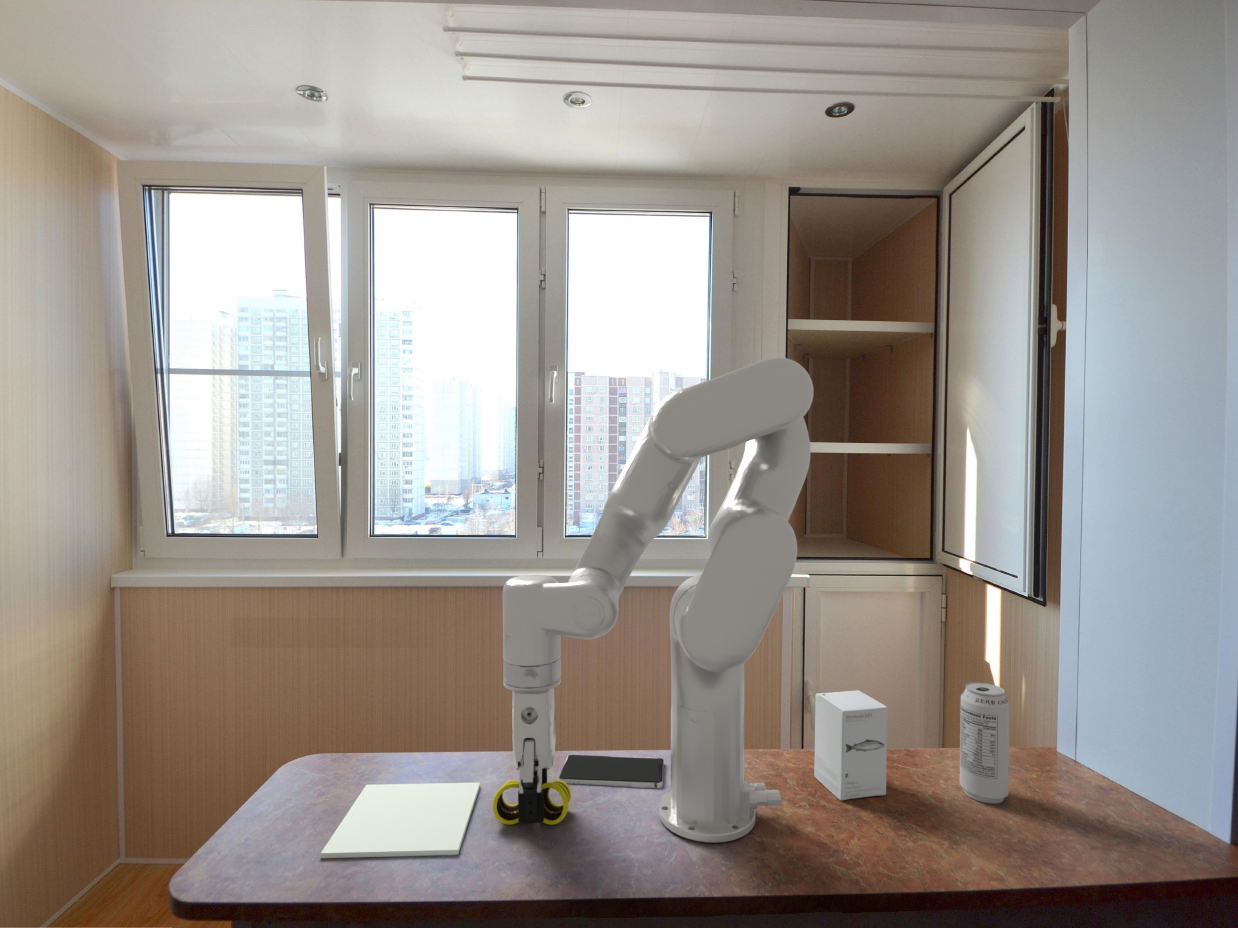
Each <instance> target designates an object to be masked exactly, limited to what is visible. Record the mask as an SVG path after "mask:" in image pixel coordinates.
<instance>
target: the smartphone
mask: <svg viewBox="0 0 1238 928" xmlns="http://www.w3.org/2000/svg"><path fill="white" fill-rule="evenodd" d="M664 760H665V759H663V758H661V757H640V756H638V757H637V756H618V755H617V756H612V755H611V756H610V755H609V756H608V755H588V754H586V755H584V754H583V755H580V754H569V755H567V756H566V759H565V762H564V764H563V766H562V769H561V772H560V774H559V777H558V780H560V781H563V782H565V783H566V784H570V785H571V784H572V785H573V783H575V785H590V784H591V785H592V786H593V785H595V786H614V787H628V788H637V789H638V788H640V789H641V788H642V789H647V788H649V789H651V788H652V789H660V788H662V787H663V784H664V780H663V779H664V764H665V763H664ZM578 783H579V784H578Z"/></svg>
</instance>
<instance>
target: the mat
mask: <svg viewBox="0 0 1238 928" xmlns="http://www.w3.org/2000/svg"><path fill="white" fill-rule="evenodd" d="M480 788H481V782H480V781H479V782H439V783H437V782H436V783H435V782H434V783H431V782H430V783H396V784H395V783H394V784H393V783H389V784H385V783H384V784H366V785H365V786H364V787H363V789H362V791H361V792H360V794H359V795H358V797H357V798H356V799H355V800H354V802H353V804H352V805H351V807H350V809H349V810H348V812H347V813H346V814H345V816H344V818H343V819H342V820H341V822H340V824H339V825H338V827H337V828H336V829H335V831H333V834H332V836H331V837H330V838H329V840H328V841H327V843H326V844H325V846H324V847H323V849H322V850H321V852H320V859H340V858H341V859H343V858H345V859H346V858H347V859H348V858H381V857H382V858H383V857H420V856H421V857H423V856H457V855H459V853H460V850H461V847H462V844H463V841H464V838H465V834H466V831H467V828H468V825H469V823H470V819H471V816H472V813H473V810H474V807H475V804H476V800H477V798H478V795H479V791H480Z"/></svg>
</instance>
